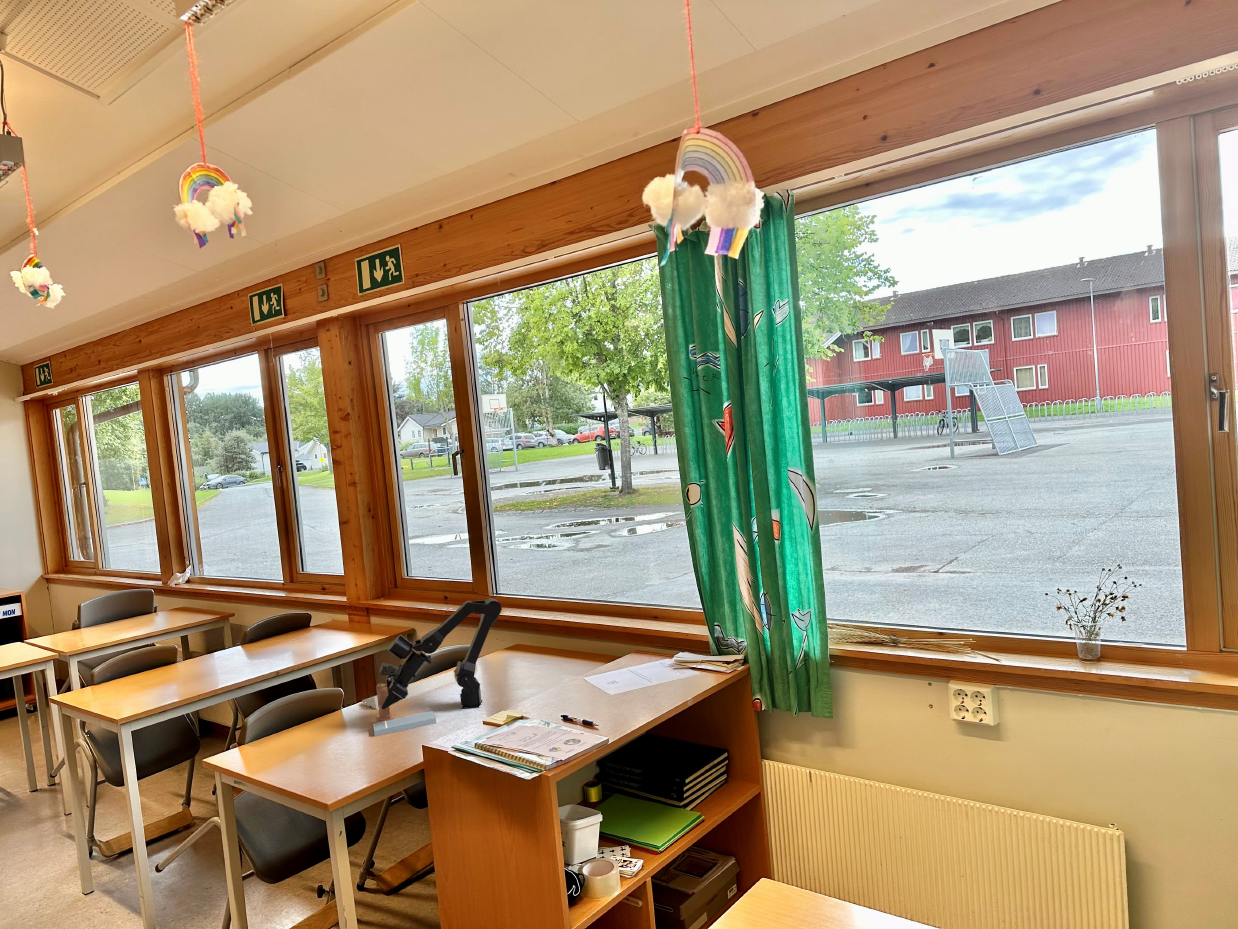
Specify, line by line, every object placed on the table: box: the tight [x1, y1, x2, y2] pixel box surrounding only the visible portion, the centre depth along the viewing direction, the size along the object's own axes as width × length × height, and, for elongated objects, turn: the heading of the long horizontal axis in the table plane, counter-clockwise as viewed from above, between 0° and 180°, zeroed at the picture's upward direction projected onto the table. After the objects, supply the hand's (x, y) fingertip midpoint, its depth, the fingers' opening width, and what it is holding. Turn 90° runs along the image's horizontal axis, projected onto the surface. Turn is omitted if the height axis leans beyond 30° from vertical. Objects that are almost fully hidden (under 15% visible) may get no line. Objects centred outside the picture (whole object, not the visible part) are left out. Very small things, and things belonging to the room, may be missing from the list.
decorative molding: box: [362, 670, 456, 710], centre depth 297 cm, size 34×5×10 cm
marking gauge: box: [375, 682, 396, 723], centre depth 265 cm, size 6×5×14 cm
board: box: [372, 710, 437, 737], centre depth 260 cm, size 20×8×2 cm, turn 110°
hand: (381, 704), depth 264 cm, fingers open, 9 cm apart
